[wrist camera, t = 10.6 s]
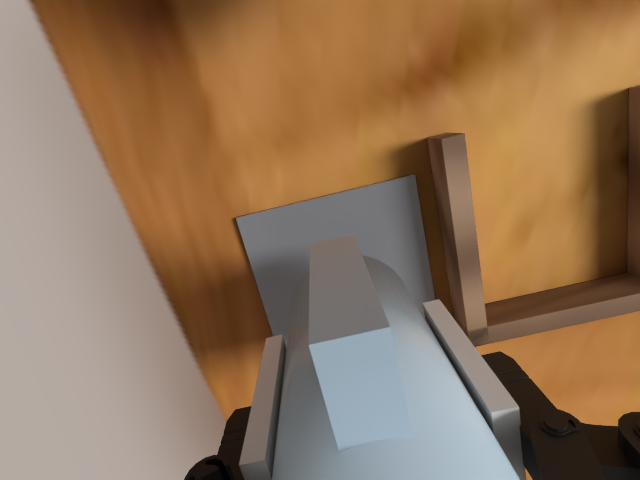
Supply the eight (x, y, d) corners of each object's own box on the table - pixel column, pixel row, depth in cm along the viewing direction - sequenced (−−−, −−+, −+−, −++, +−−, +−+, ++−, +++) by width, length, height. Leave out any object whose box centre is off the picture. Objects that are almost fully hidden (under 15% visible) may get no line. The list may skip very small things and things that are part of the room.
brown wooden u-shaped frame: (427, 137, 22) (441, 139, 19) (650, 82, 21) (694, 77, 18) (454, 326, 25) (469, 347, 23) (645, 284, 25) (681, 301, 22)
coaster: (236, 216, 23) (235, 218, 22) (413, 174, 22) (414, 174, 22) (283, 365, 26) (283, 368, 26) (439, 331, 25) (440, 333, 25)
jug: (307, 372, 21) (300, 803, 8) (263, 223, 18) (136, 478, 5) (418, 348, 21) (614, 751, 7) (389, 193, 18) (611, 378, 5)
